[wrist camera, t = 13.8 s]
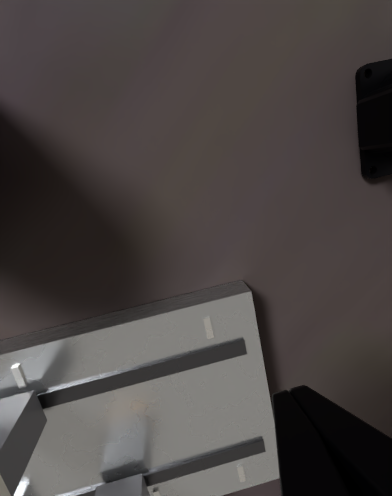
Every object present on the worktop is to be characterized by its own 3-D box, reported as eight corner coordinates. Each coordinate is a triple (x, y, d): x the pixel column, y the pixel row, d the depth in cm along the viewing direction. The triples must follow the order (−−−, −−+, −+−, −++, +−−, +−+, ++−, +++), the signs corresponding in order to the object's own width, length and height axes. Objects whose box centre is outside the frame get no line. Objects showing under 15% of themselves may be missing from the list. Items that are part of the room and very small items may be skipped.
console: (241, 279, 20) (258, 299, 17) (273, 452, 23) (291, 493, 20) (-69, 357, 18) (-115, 394, 15) (19, 527, 22) (-3, 584, 19)
